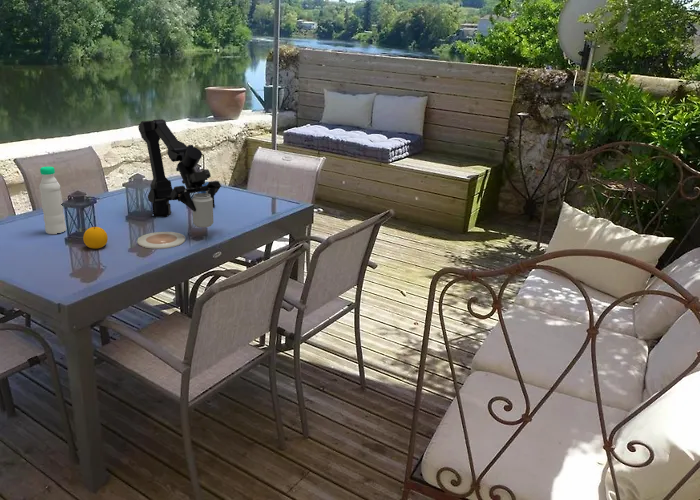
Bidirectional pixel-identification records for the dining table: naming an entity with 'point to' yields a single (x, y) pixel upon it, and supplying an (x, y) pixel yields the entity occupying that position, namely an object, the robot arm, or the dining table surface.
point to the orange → (95, 237)
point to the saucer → (161, 240)
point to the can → (203, 210)
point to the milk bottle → (51, 202)
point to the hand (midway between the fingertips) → (204, 209)
